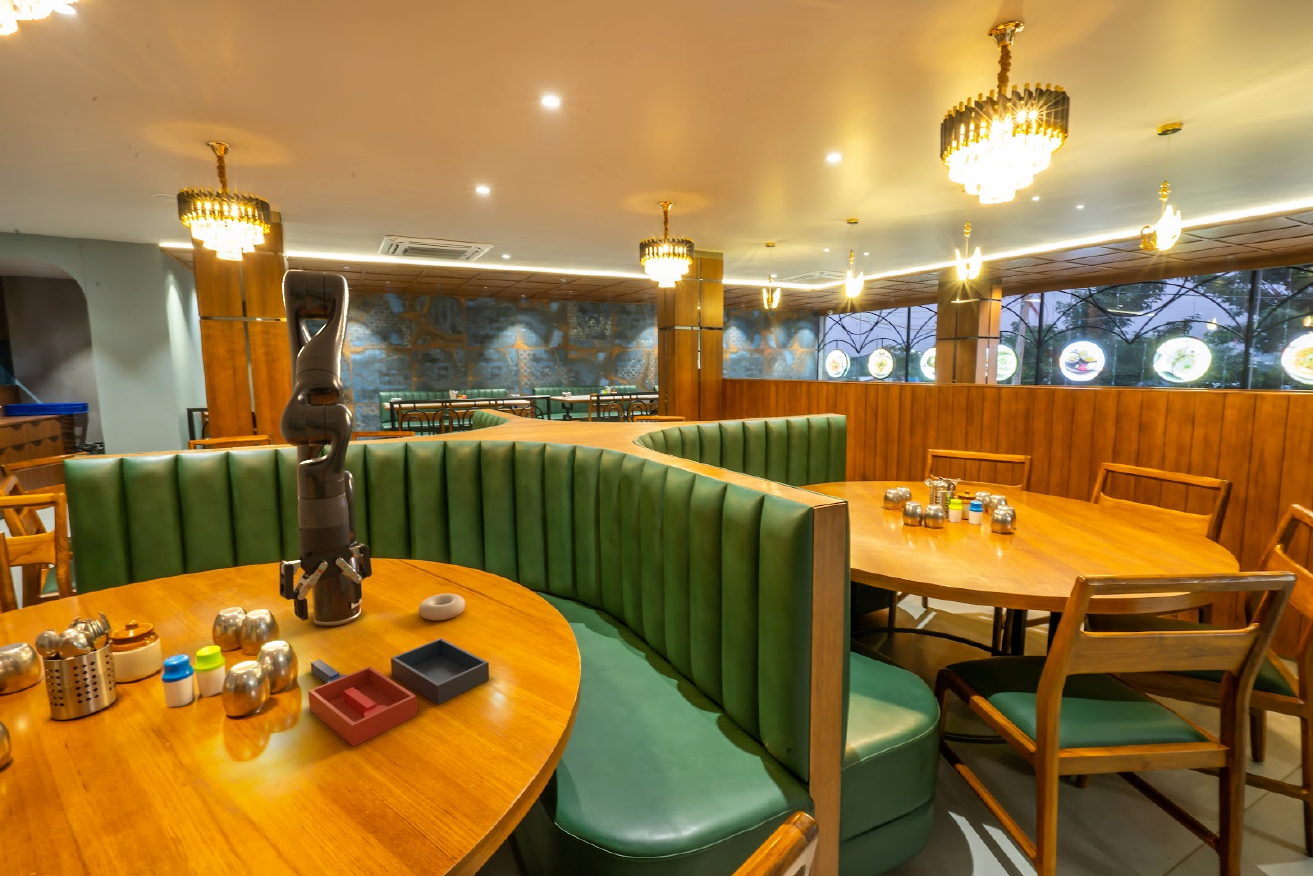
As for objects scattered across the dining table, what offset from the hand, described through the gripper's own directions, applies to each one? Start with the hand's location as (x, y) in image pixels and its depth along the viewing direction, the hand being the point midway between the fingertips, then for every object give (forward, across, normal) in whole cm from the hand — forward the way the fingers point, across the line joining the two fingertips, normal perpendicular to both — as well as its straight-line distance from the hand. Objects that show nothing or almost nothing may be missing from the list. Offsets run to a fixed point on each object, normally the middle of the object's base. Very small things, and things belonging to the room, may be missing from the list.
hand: (329, 610), depth 104 cm
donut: (+14, -29, -12) cm, 34 cm away
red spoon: (+13, +1, +13) cm, 19 cm away
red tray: (+14, +1, +13) cm, 19 cm away
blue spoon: (+14, 0, -2) cm, 14 cm away
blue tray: (+14, -13, +13) cm, 23 cm away
